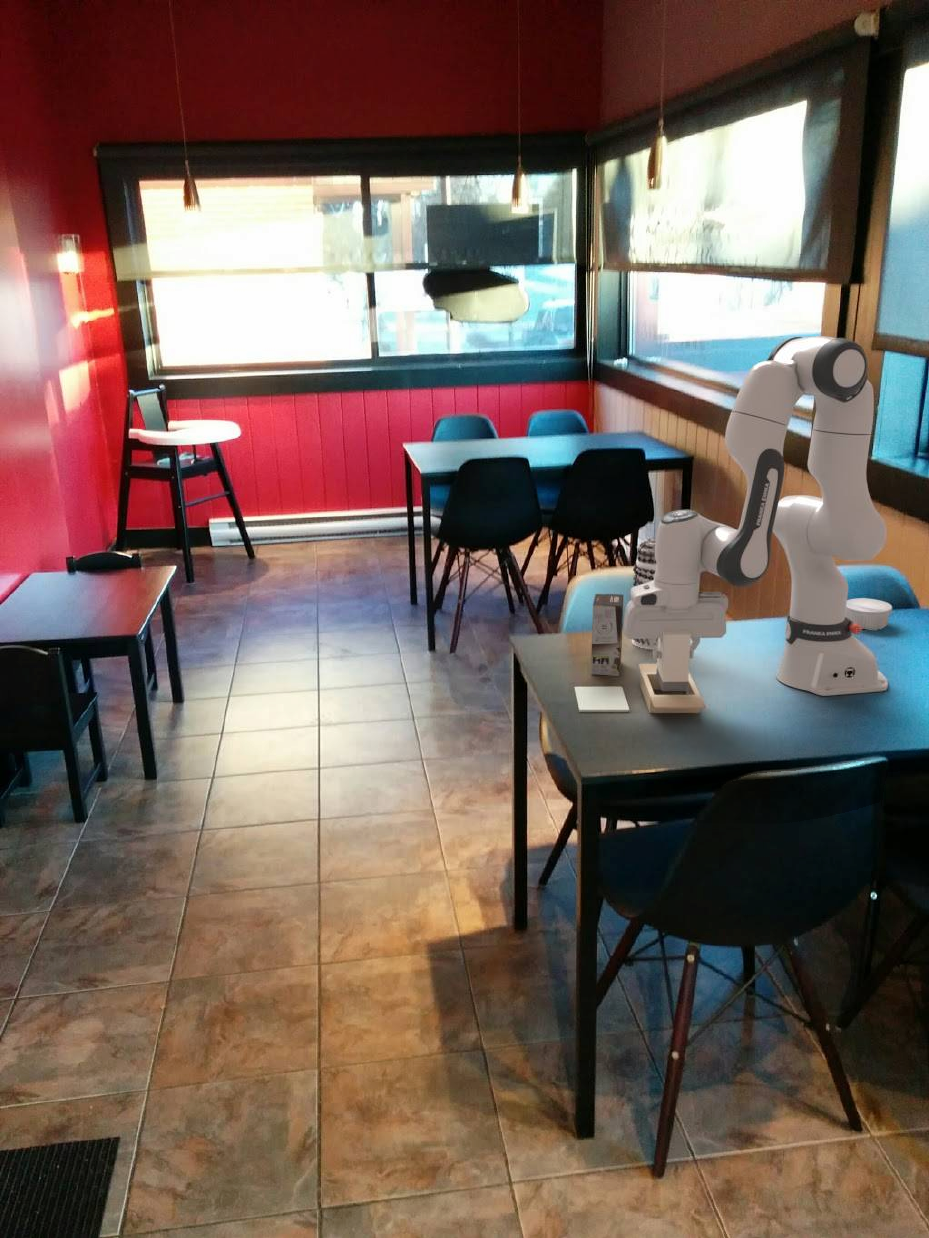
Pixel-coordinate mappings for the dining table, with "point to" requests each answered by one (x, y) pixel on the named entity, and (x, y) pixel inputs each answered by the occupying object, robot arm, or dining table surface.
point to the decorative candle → (645, 576)
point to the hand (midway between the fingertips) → (672, 657)
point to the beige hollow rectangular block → (668, 702)
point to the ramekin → (868, 613)
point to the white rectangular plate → (601, 699)
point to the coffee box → (607, 634)
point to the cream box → (674, 660)
